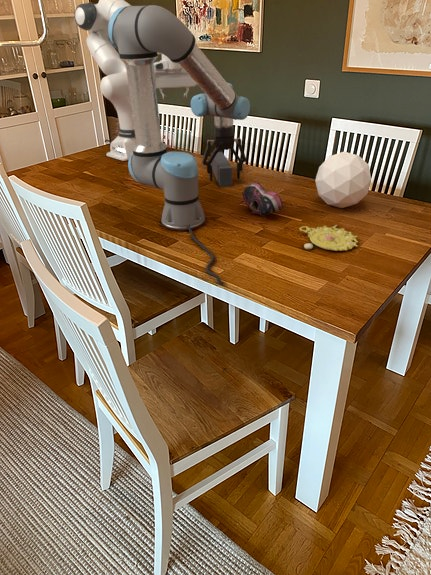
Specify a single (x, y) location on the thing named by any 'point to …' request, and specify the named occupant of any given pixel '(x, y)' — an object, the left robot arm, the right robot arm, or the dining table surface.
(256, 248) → the dining table surface
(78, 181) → the dining table surface
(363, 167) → the sphere
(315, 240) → the decorative object
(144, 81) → the right robot arm
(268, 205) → the athletic shoe
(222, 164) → the bar
